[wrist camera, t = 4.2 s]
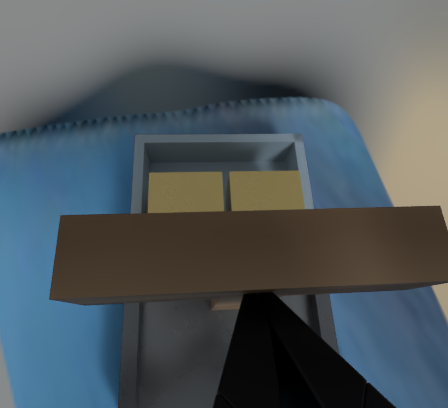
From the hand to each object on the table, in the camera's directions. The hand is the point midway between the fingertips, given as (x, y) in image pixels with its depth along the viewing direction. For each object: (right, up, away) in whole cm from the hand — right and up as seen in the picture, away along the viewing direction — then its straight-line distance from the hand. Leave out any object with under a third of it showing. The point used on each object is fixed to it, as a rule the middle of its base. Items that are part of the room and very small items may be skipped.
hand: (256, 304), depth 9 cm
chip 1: (-3, +2, +11) cm, 11 cm away
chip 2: (+1, +2, +11) cm, 11 cm away
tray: (-1, +3, +14) cm, 14 cm away
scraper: (-1, -2, +10) cm, 10 cm away
